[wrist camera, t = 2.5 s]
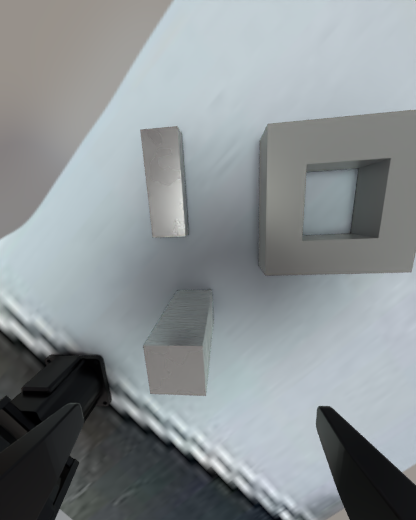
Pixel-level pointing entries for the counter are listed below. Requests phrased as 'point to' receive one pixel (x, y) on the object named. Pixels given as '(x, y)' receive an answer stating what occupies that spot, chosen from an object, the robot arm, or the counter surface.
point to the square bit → (181, 345)
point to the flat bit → (165, 181)
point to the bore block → (366, 198)
